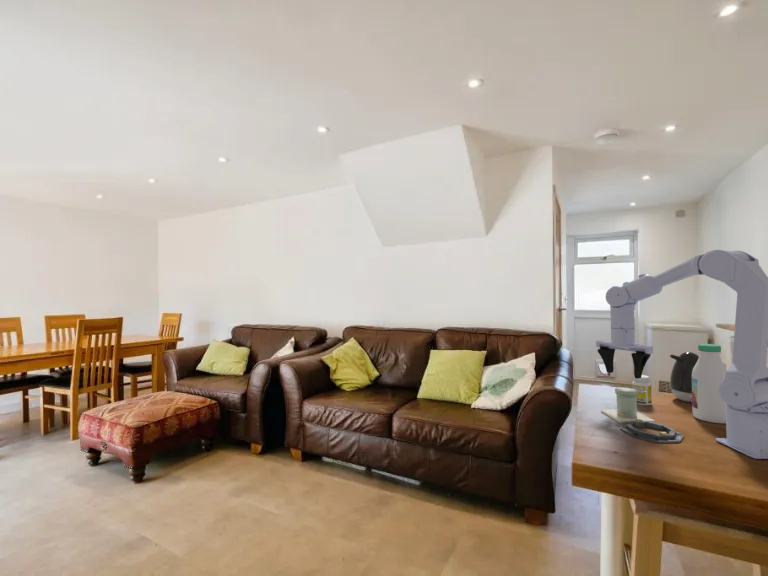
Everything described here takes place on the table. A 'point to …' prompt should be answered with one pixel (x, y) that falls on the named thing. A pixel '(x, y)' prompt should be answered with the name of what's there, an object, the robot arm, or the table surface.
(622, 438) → the table surface
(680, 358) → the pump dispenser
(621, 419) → the plate
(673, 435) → the bayonet collar
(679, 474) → the table surface
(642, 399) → the supplement bottle
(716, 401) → the milk bottle
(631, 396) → the pale green jar
